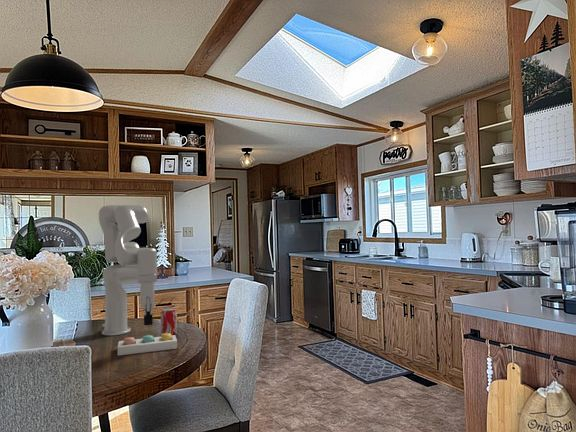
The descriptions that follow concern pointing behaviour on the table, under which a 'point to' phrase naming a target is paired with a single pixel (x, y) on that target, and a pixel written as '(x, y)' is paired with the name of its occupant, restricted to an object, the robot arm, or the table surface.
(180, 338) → the table surface
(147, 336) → the teal button
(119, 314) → the robot arm
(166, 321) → the soda can
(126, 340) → the terracotta button
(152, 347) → the button box
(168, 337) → the amber button
